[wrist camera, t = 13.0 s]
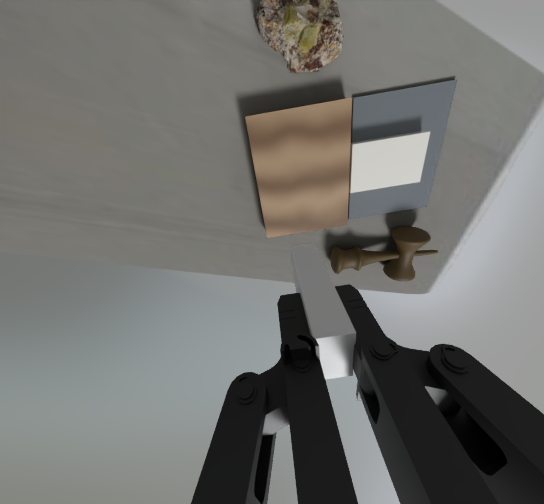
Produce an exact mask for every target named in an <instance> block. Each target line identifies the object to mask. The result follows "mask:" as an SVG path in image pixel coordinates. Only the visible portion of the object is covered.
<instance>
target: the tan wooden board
mask: <svg viewBox="0 0 544 504" xmlns="http://www.w3.org/2000/svg"><path fill="white" fill-rule="evenodd" d="M351 116H352V98H347V99H341V100H335V101H330V102H324V103H318V104H313V105H307V106H302V107H296V108H290V109H285V110H279V111H274V112H268V113H262V114H257V115H251V116H246V117H245V119H246V125H247V130H248V136H249V141H250V147H251V152H252V157H253V163H254V168H255V174H256V179H257V185H258V190H259V196H260V201H261V207H262V212H263V218H264V223H265V228H266V234H267V238H269V237H275V236H281V235H287V234H294V233H300V232H306V231H312V230H319V229H325V228H331V227H337V226H343V225H348V198H349V170H350V143H351Z"/></svg>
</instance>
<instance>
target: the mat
mask: <svg viewBox="0 0 544 504" xmlns="http://www.w3.org/2000/svg"><path fill="white" fill-rule="evenodd" d="M456 83H457V80H451V81H445V82H440V83H434V84H428V85H423V86H417V87H412V88H406V89H400V90H395V91H389V92H384V93H378V94H372V95H367V96H361V97H355V98H353V100H352V126H351V143H354V142H359V141H365V140H371V139H377V138H383V137H389V136H395V135H401V134H407V133H413V132H419V131H430V136H429V141H428V146H427V151H426V156H425V160H424V165H423V170H422V175H421V179H420V182H416V183H410V184H404V185H398V186H392V187H385V188H379V189H373V190H367V191H361V192H354V193H350V192H349V206H348V219H353V218H360V217H366V216H372V215H378V214H384V213H391V212H397V211H403V210H409V209H415V208H422V207H427V205H428V201H429V197H430V192H431V188H432V184H433V180H434V176H435V171H436V167H437V163H438V159H439V154H440V150H441V146H442V142H443V138H444V133H445V129H446V125H447V121H448V117H449V112H450V108H451V104H452V100H453V95H454V91H455V87H456Z"/></svg>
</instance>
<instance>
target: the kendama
mask: <svg viewBox="0 0 544 504" xmlns="http://www.w3.org/2000/svg"><path fill="white" fill-rule="evenodd" d="M391 235H392V237H393V239H394V241H395V243H396V251H395V252H380V251H366V250H361V249H360V248H358V247H357V246H356V247H353V248H352V249H349V250H343V249H339V248H338V247H336V246H334V247H333V248H332V250H331V254H330V260H331V266H332V269H333V271H334V272H335V273H336V274H339V273H340V272H341V271H342V270H343V269H347V268H354V269H355V270H360V268H361V267H363V266H365V265H367V264H371V263H375V262H380V261H384V260H390V259H391V260H390V261H389V262H388V263H386V264H385V265H384V268H383V271H384V273H385V274H386V275H387V276H388V277H390V278H391V279H393V280H397V281H410V280H412V279H414V278H415V271H414V269H413V266H412V259H413V256H420V255H429V254H435V253H438V251H437V250H422V251H417V250H418V249H419V248H420V247H422V246H423V245H425V244H426V243H428V242H429V241H430V239H431V238H430V235H429V234H428V233H427V232H426V231H424V230H422V229H419V228H416V227H410V226H401V227H396V228H394V229H392V231H391Z"/></svg>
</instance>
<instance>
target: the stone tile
mask: <svg viewBox="0 0 544 504" xmlns="http://www.w3.org/2000/svg"><path fill="white" fill-rule="evenodd" d="M429 136H430V131H419V132H413V133H407V134H401V135H395V136H389V137H383V138H377V139H371V140H365V141H359V142H354V143H350V170H349V192H350V193H354V192H361V191H367V190H373V189H379V188H385V187H392V186H398V185H404V184H410V183H416V182H420V179H421V175H422V170H423V165H424V160H425V156H426V151H427V146H428V141H429Z"/></svg>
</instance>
